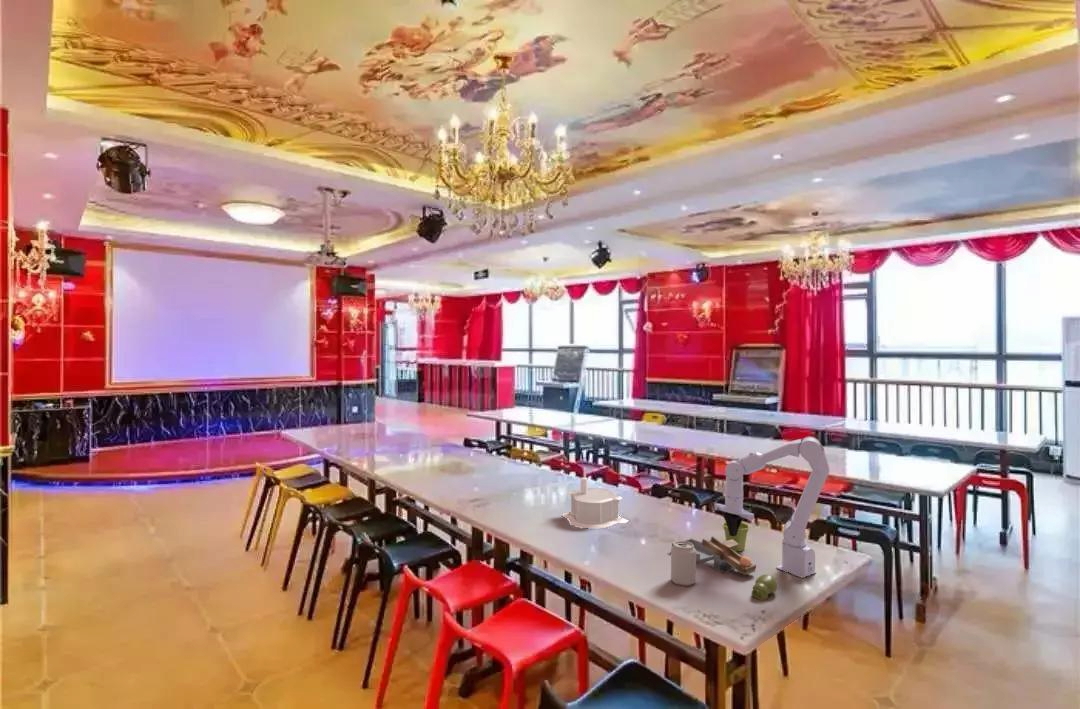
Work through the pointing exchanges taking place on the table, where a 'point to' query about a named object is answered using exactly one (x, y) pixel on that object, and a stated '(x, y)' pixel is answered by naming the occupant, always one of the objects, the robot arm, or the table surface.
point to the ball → (745, 562)
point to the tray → (700, 551)
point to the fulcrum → (720, 564)
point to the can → (683, 563)
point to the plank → (728, 554)
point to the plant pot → (739, 538)
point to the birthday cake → (594, 507)
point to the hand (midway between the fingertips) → (733, 535)
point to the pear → (764, 587)
